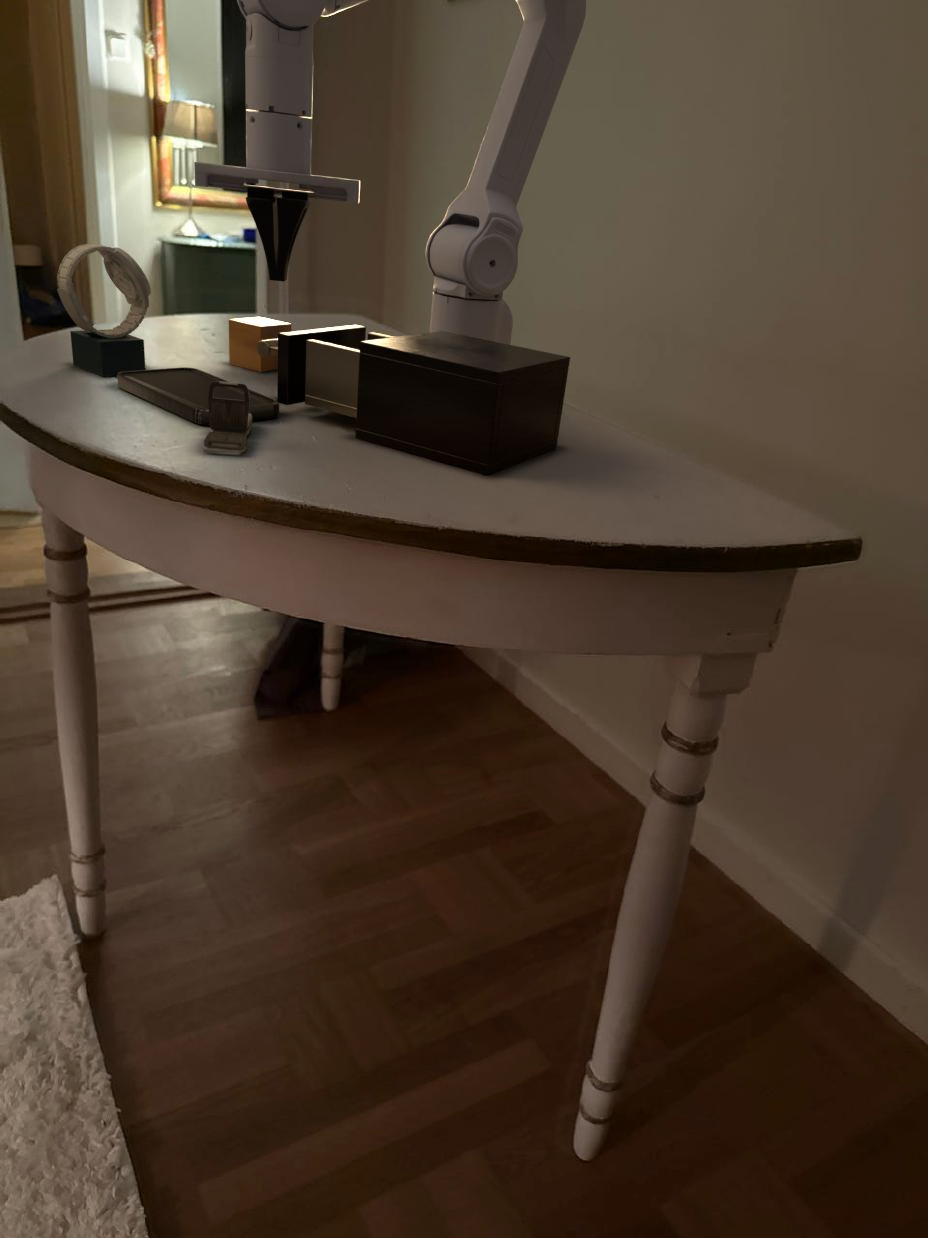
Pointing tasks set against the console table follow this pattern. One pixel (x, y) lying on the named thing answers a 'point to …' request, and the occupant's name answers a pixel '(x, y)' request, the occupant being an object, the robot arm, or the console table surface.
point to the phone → (190, 392)
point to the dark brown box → (460, 399)
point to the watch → (114, 346)
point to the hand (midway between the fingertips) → (278, 279)
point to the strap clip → (228, 421)
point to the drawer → (319, 366)
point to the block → (253, 342)
